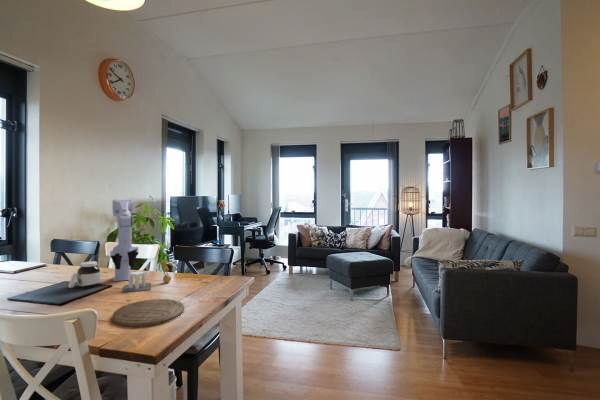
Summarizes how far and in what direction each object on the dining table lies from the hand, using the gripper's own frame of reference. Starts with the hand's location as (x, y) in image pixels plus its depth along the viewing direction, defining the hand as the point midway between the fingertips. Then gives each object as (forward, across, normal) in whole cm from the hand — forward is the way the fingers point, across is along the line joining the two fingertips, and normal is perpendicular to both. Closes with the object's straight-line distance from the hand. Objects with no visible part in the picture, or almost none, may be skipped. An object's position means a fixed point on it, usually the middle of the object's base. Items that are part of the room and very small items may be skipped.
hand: (124, 267), depth 156 cm
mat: (+9, +1, -8) cm, 12 cm away
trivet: (+10, -22, -39) cm, 46 cm away
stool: (+9, +1, -8) cm, 12 cm away
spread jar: (+10, -8, +17) cm, 21 cm away
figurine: (+10, +14, -13) cm, 21 cm away
